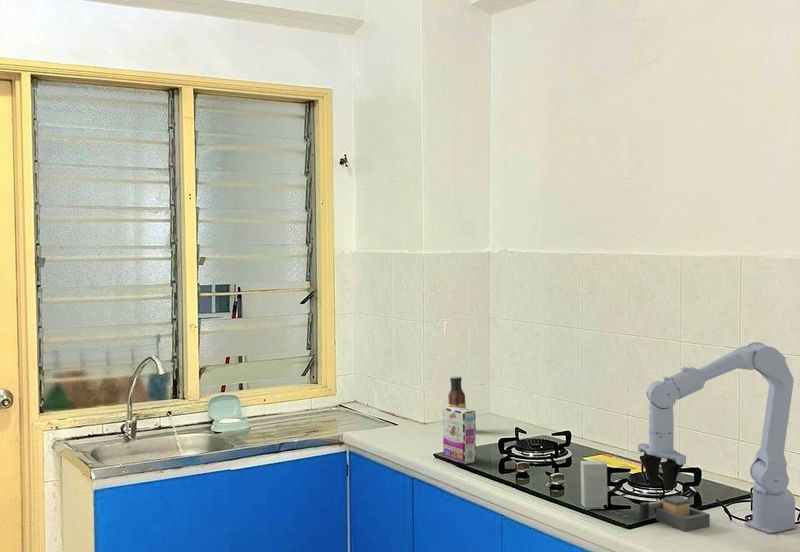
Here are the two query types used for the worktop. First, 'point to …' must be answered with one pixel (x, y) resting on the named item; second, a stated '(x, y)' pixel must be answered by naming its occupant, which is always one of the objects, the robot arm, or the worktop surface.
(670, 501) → the plug
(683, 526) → the socket
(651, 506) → the clip
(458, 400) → the sauce bottle
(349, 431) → the worktop surface
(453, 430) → the candy bar box
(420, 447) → the worktop surface
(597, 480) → the skincare box
